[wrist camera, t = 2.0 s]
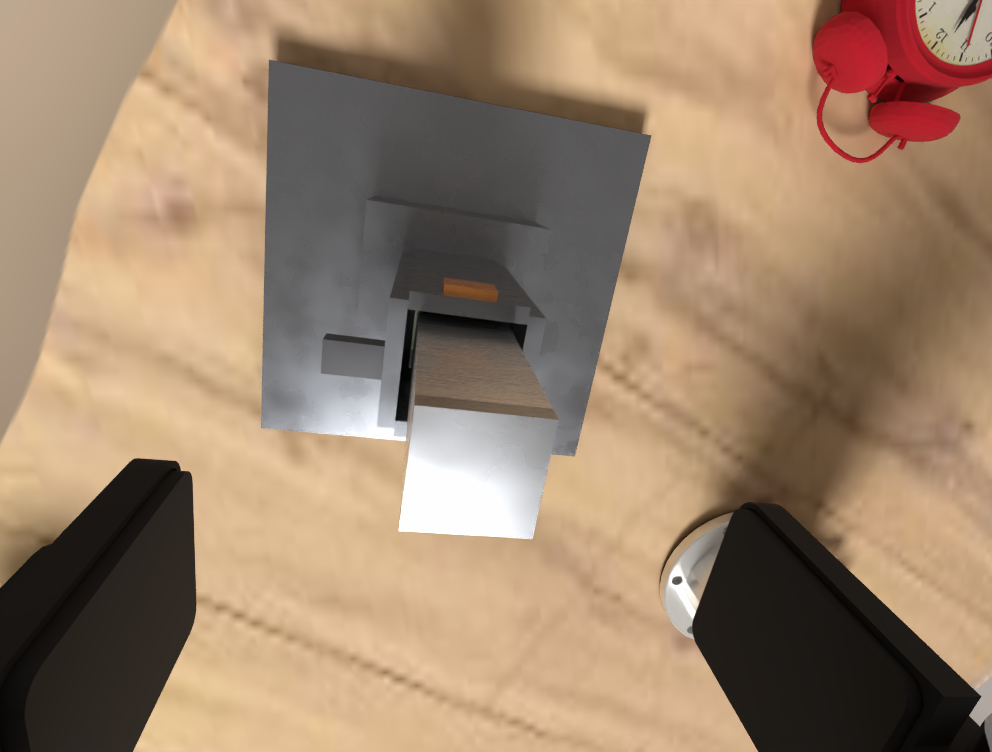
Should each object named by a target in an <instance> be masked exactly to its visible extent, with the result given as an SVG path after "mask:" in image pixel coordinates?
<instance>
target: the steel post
mask: <svg viewBox="0 0 992 752" xmlns="http://www.w3.org/2000/svg"><path fill="white" fill-rule="evenodd" d="M409 368H411V376H410V390H409V403H408V417H407V430H406V444H405V457H404V471H403V484H402V498H401V511H400V525H399V531H414V532H430V533H445V534H461V535H477V536H493V537H509V538H525V539H532V538H533V534H534V529H535V525H536V520H537V516H538V511H539V507H540V502H541V498H542V493H543V489H544V484H545V480H546V475H547V471H548V466H549V462H550V457H551V453H552V448H553V443H554V439H555V434H556V430H557V425H558V421H559V419H558V417H557V416H556V414H555V412H554V410H553V408H552V406H551V404H550V402H549V400H548V399H547V397H546V395H545V393H544V391H543V389H542V387H541V385H540V383H539V381H538V380H537V378H536V376H535V374H534V372H533V370H532V368H531V366H530V364H529V363H528V361H527V359H526V357H525V355H524V353H523V351H522V349H521V347H520V345H519V344H518V342H517V340H516V338H515V336H514V334H513V332H512V330H511V328H510V327H509V325H508V323H507V322H502V321H494V320H486V319H479V318H471V317H463V316H456V315H448V314H440V313H433V312H425V311H417V310H415V315H414V324H413V332H412V341H411V350H410V358H409Z"/></svg>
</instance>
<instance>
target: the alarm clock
mask: <svg viewBox="0 0 992 752" xmlns="http://www.w3.org/2000/svg"><path fill="white" fill-rule="evenodd" d="M813 58H814V62H815V65H816V68H817V71H818V73H819V74H820V76H821V77H822V79H823V80H824V82H825V83H826V84H827V87H826V89H825V91H824V93H823V95H822V97H821V99H820V103H819V106H818V109H817V125H818V128H819V131H820V133H821V135H822V137H823V138H824V140H825V142H826V143H827V144H828V145H829V146H830V147H831V148H832V149H833V150H834V151H835V152H836V153H837V154H839V155H840V156H842V157H843V158H845V159H847V160H849V161H852V162H856V163H863V162H868V161H871V160H873V159H875V158H876V157H878V156H879V155H880V154H882V153H883V152H884V151H885V150H886V149H887V148H888V147H889V146H890V145H891V144H892V143H893V142H894V141H895V140H896V139H897V140H901V142H900V144H899V146H898V149H901V150H902V149H904V147H905V145H906V143H907V141H914V142H925V141H932V140H937V139H940V138H943V137H945V136H947V135H948V134H949V133H951V132H952V131H953V130H954V128H955V127H956V126H957V124H958V122H959V120H960V114H958V113H956V112H954V111H952V110H950V109H946V108H943V107H940V106H936V105H931V104H925V103H924V102H928V101H932V100H935V99H938V98H940V97H943V96H945V95H947V94H949V93H951V92H952V91H954V90H956V89H957V88H959V87H960V86H968V85H973V84H977V83H980V82H983V81H986V80H988V79H990V78H992V0H842V6H841V13H840V14H838V15H836V16H834V17H832V18H831V19H830V20H829V21H828V22H826V23H825V24H824V25H823V26H822V27H821V29H820V30H819V31H818V33H817V35H816V37H815V40H814V43H813ZM831 88H832V89H834V90H836V91H839V92H841V93H856V92H860V91H863V90H866V91H867V92H868V93H870V94H869V95H868V96H867V98H868V99H869V100H870V101H871V102H872V103H874V102H876V101H877V100H878V99H880V100H882V101H885V102H883V103H878V104H876V105H874V106H873V107H872V109H871V113H870V116H869V124H870V126H871V128H872V129H874V130H875V131H876V132H877V133H879V134H881V135H884V136H886V137H890V138H891V139H890V140H889V141H888V142H887V143H886V144H885V145H884V146H883V147H881V148H880V149H879V150H878V151H877V152H876V153H874V154H873V155H871V156H869V157H866V158H856V157H852V156H850V155H848V154H847V153H845V152H844V151H842V150H841V149H840V148H839V147H838V146H836V145H835V144H834V142H833V141H832V140H831V139H830V137H829V136H828V134H827V132H826V131H825V128H824V125H823V121H822V110H823V107H824V103H825V100H826V98H827V96H828V94H829V91H830V89H831Z"/></svg>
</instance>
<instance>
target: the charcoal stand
mask: <svg viewBox="0 0 992 752" xmlns="http://www.w3.org/2000/svg"><path fill="white" fill-rule="evenodd" d="M650 139H651V135H646V134H641V133H636V132H631V131H626V130H621V129H616V128H611V127H606V126H601V125H595V124H590V123H585V122H580V121H575V120H570V119H565V118H560V117H555V116H550V115H545V114H540V113H535V112H530V111H525V110H520V109H515V108H510V107H505V106H500V105H495V104H490V103H484V102H479V101H474V100H469V99H464V98H459V97H454V96H449V95H444V94H439V93H434V92H429V91H424V90H419V89H414V88H409V87H404V86H399V85H394V84H389V83H384V82H379V81H373V80H368V79H363V78H358V77H353V76H348V75H343V74H338V73H333V72H328V71H323V70H318V69H313V68H308V67H303V66H298V65H293V64H288V63H283V62H278V61H273V60H269V87H268V134H267V180H266V226H265V273H264V319H263V366H262V412H261V428H268V429H279V430H290V431H301V432H312V433H323V434H334V435H345V436H356V437H367V438H378V439H389V440H401V441H406V430H407V417H408V403H409V390H410V376H411V368H409V358H410V350H411V341H412V332H413V324H414V315H415V310H417V311H425V312H433V313H440V314H448V315H456V316H463V317H471V318H479V319H486V320H494V321H502V322H507V323H508V325H509V327H510V328H511V330H512V332H513V334H514V336H515V338H516V340H517V342H518V344H519V345H520V347H521V349H522V351H523V353H524V355H525V357H526V359H527V361H528V363H529V364H530V366H531V368H532V370H533V372H534V374H535V376H536V378H537V380H538V381H539V383H540V385H541V387H542V389H543V391H544V393H545V395H546V397H547V399H548V400H549V402H550V404H551V406H552V408H553V410H554V412H555V414H556V416H557V417H558V419H559V421H558V425H557V430H556V434H555V439H554V443H553V448H552V453H551V454H556V455H567V456H575V453H576V449H577V445H578V441H579V436H580V432H581V428H582V424H583V420H584V415H585V411H586V407H587V403H588V399H589V395H590V390H591V386H592V382H593V378H594V374H595V369H596V365H597V361H598V357H599V353H600V348H601V344H602V340H603V336H604V332H605V327H606V323H607V319H608V315H609V311H610V307H611V302H612V298H613V294H614V290H615V286H616V281H617V277H618V273H619V269H620V265H621V260H622V256H623V252H624V248H625V244H626V239H627V235H628V231H629V227H630V223H631V219H632V214H633V210H634V206H635V202H636V198H637V193H638V189H639V185H640V181H641V177H642V172H643V168H644V164H645V160H646V156H647V151H648V147H649V143H650Z"/></svg>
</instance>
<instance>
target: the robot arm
mask: <svg viewBox="0 0 992 752" xmlns="http://www.w3.org/2000/svg"><path fill="white" fill-rule="evenodd" d="M660 598H661V602H662V605H663V608H664V610H665V612H666V614H667V615H668V617H669V619H670V621H671V622H672V624H673V625H674V626H675V627H676V628H677V629H678V630H679V631H680V632H681V633H683V634H684V635H685V636H687V637H689V638H692V639H694V640H695V642H696V644H697V646H698V648H699V649H700V651H701V653H702V654H703V656H704V658H705V660H706V661H707V663H708V665H709V667H710V668H711V670H712V672H713V674H714V675H715V677H716V679H717V681H718V682H719V684H720V686H721V688H722V689H723V691H724V693H725V695H726V696H727V698H728V700H729V701H730V703H731V705H732V707H733V708H734V710H735V712H736V714H737V715H738V717H739V719H740V721H741V722H742V724H743V726H744V728H745V729H746V731H747V733H748V735H749V736H750V738H751V740H752V742H753V743H754V745H755V747H756V748H757V750H758V752H992V714H990V715H989V716H988V717H987V718H986V719H985V720H984V722H983V723H982V725H981V726H979V725H978V724H977V723H976V722H974V720H973V719H972V718H971V717H970V716H969V714H970V713H971V712H972V710H973V708H974V707H975V705H976V704H977V702H978V701H979V699H980V698H981V696H980V695H979V694H978V693H977V692H976V691H975V690H974V689H973V688H972V687H971V686H970V685H969V684H968V683H967V682H966V681H964V680H963V679H962V678H961V677H960V676H959V675H958V674H957V673H956V672H955V671H954V670H953V669H952V668H951V667H950V666H949V665H948V664H947V663H946V662H945V661H943V660H942V659H941V658H940V657H939V656H938V655H937V654H936V653H935V652H934V651H933V650H932V649H931V648H930V647H929V646H928V645H927V644H926V643H925V642H924V641H922V640H921V639H920V638H919V637H918V636H917V635H916V634H915V633H914V632H913V631H912V630H911V629H910V628H909V627H908V626H907V625H906V624H905V623H904V622H903V621H902V620H900V619H899V618H898V617H897V616H896V615H895V614H894V613H893V612H892V611H891V610H890V609H889V608H888V607H887V606H886V605H885V604H884V603H883V602H882V601H881V600H879V599H878V598H877V597H876V596H875V595H874V594H873V593H872V592H871V591H870V590H869V589H868V588H867V587H866V586H865V585H864V584H863V583H862V582H861V581H860V580H859V579H857V578H856V577H855V576H854V575H853V574H852V573H851V572H850V571H849V570H848V569H847V568H846V567H845V566H844V565H843V564H842V563H841V562H840V561H839V560H838V559H836V558H835V557H834V556H833V555H832V554H831V553H830V552H829V551H828V550H827V549H826V548H825V547H824V546H823V545H822V544H821V543H820V542H819V541H818V540H817V539H815V538H814V537H813V536H812V535H811V534H810V533H809V532H808V531H807V530H806V529H805V528H804V527H803V526H802V525H801V524H800V523H799V522H798V521H797V520H796V519H795V518H793V517H792V516H791V515H790V514H789V513H788V512H787V511H786V510H785V509H784V508H783V507H781V506H780V505H777V504H767V503H753V502H748V503H745V504H743V505H742V506H741V507H740V509H739V510H736V511H735V512H732V513H728V514H724V515H722V516H719V517H717V518H715V519H712V520H710V521H708V522H706V523H705V524H703V525H702V526H700V527H698V528H697V529H695V530H694V531H693V532H692V533H691V534H689V535H688V536H687V537H686V538H685V539H683V541H682V542H681V543H680V544H679V545H678V546H677V548H676V549H675V550H674V551H673V553H672V554H671V556H670V558H669V559H668V561H667V563H666V565H665V568H664V570H663V573H662V576H661V582H660ZM195 614H196V580H195V547H194V515H193V483H192V475H191V473H190V472H189V471H181V469H180V466H179V463H178V462H176V461H168V460H154V459H140V458H137V459H133V460H132V461H131V462H129V463H128V464H127V466H126V467H125V468H124V469H123V470H122V471H121V472H120V473H119V474H118V475H117V476H116V477H115V478H114V479H113V480H112V481H111V482H110V483H109V484H108V485H107V486H106V488H105V489H104V490H103V491H102V492H101V493H100V494H99V495H98V496H97V497H96V498H95V499H94V500H93V501H92V502H91V503H90V504H89V505H88V506H87V507H86V508H85V509H84V511H83V512H82V513H81V514H80V515H79V516H78V517H77V518H76V519H75V520H74V521H73V522H72V523H71V524H70V525H69V526H68V527H67V528H66V529H65V530H64V531H63V533H62V534H61V535H60V536H59V537H58V538H57V539H56V540H55V541H54V542H53V543H52V544H49V545H47V546H44V547H42V548H41V549H40V550H38V551H37V552H36V553H35V554H33V555H32V556H31V557H30V558H29V559H28V560H27V561H26V562H25V564H24V565H23V566H22V567H21V568H20V569H19V570H18V571H17V572H16V573H15V574H14V575H13V576H12V577H11V578H10V579H9V580H8V581H7V582H6V583H5V584H4V585H3V586H2V587H1V588H0V752H133V750H134V748H135V746H136V744H137V742H138V740H139V738H140V736H141V734H142V731H143V729H144V727H145V725H146V723H147V721H148V719H149V717H150V715H151V713H152V711H153V709H154V707H155V705H156V702H157V700H158V698H159V696H160V694H161V692H162V690H163V688H164V686H165V684H166V682H167V680H168V678H169V676H170V673H171V671H172V669H173V667H174V665H175V663H176V661H177V659H178V657H179V655H180V653H181V651H182V649H183V647H184V644H185V642H186V640H187V638H188V636H189V634H190V632H191V629H192V626H193V623H194V619H195Z"/></svg>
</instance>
